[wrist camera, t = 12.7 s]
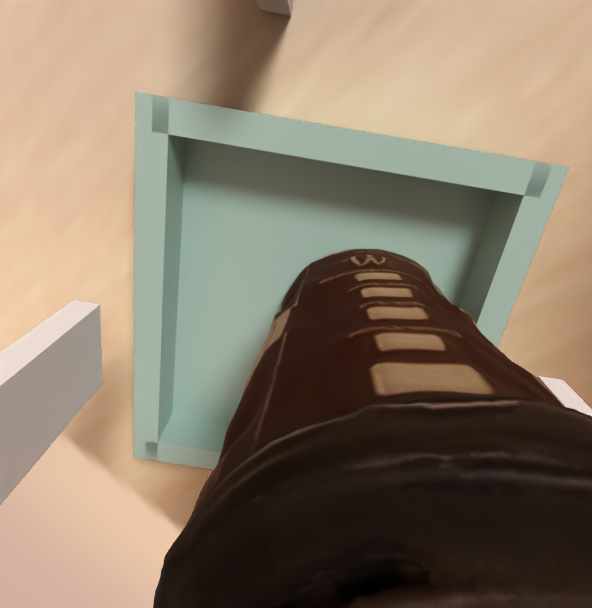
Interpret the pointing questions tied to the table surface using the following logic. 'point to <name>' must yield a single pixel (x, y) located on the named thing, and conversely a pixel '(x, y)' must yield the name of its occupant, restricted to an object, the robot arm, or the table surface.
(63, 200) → the table surface
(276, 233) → the tray
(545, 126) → the table surface
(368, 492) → the coffee cup
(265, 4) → the bay
